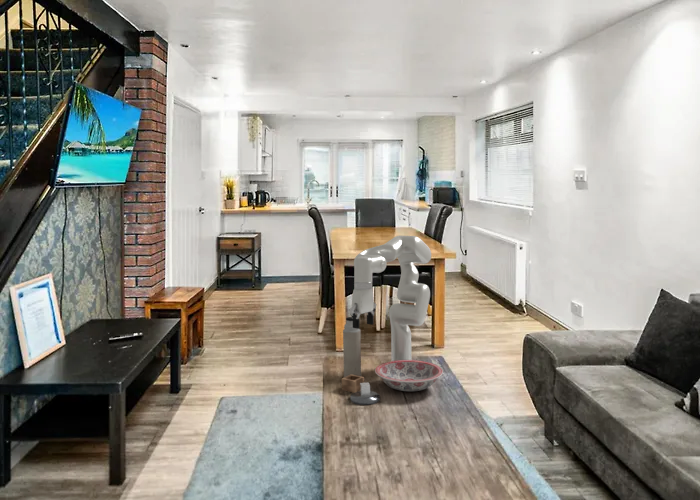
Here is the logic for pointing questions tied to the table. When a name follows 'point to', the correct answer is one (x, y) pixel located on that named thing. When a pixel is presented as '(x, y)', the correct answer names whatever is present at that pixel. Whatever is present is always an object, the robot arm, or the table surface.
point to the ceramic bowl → (408, 374)
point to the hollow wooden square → (352, 383)
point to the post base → (365, 400)
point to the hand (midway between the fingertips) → (363, 326)
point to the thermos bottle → (351, 349)
